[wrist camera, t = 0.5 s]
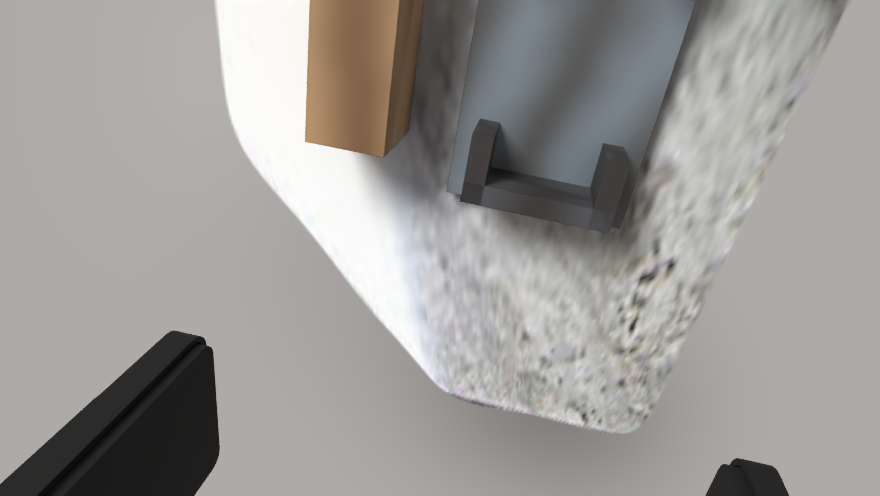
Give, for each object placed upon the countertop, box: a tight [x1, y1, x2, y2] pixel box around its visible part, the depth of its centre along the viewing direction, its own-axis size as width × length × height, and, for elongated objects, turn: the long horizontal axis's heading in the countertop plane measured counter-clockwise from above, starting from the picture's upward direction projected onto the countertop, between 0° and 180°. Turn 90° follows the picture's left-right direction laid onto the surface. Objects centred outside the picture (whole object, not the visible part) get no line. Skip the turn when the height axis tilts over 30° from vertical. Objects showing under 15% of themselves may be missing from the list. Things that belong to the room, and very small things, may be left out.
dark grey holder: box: [447, 0, 696, 233], centre depth 30 cm, size 11×20×5 cm, turn 171°
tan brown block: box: [305, 0, 424, 157], centre depth 30 cm, size 4×14×6 cm, turn 172°
